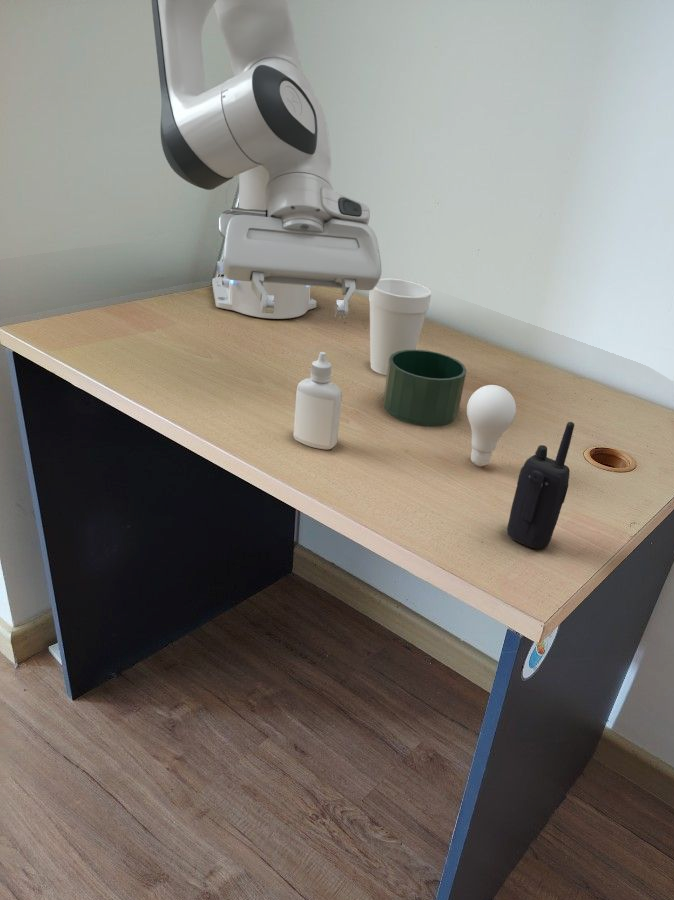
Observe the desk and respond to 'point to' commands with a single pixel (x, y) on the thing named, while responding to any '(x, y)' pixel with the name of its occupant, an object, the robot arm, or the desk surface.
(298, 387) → the eye dropper bottle
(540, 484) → the two-way radio
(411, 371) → the tin
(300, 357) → the desk surface
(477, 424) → the lightbulb
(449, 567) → the desk surface
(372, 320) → the foam cup
